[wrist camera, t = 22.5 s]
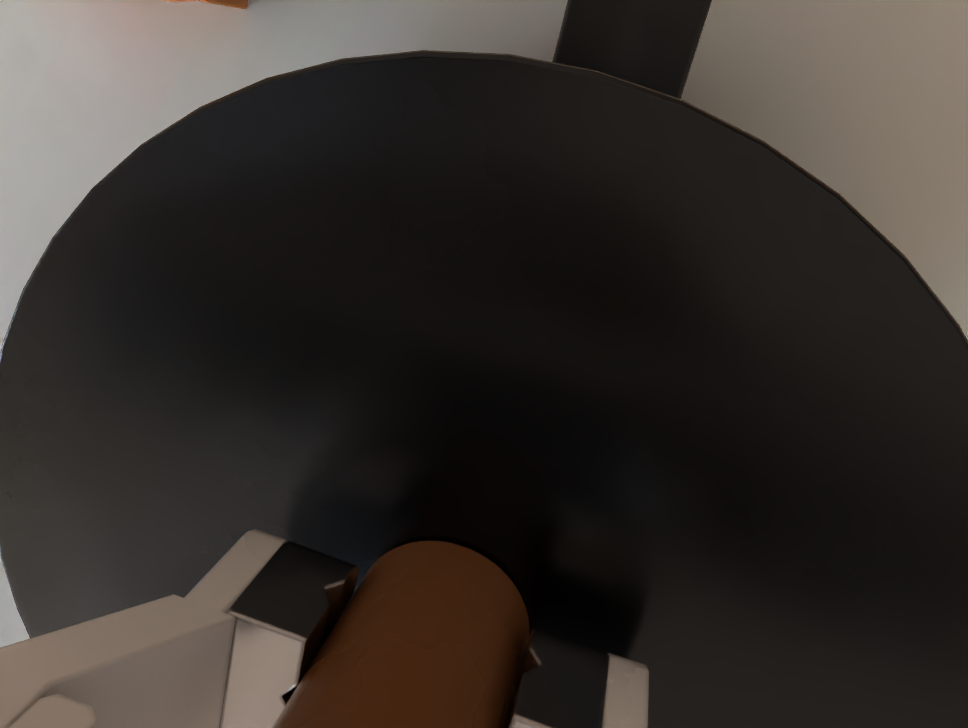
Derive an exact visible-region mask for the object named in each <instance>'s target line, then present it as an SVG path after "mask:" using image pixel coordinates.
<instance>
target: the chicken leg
mask: <svg viewBox="0 0 968 728" xmlns="http://www.w3.org/2000/svg"><path fill="white" fill-rule="evenodd" d="M164 1H170V2H184V1H195V0H164ZM199 1H202V2H206V3H211V4H217V5H223V6H229V7H235V8H241V9H247V7H248V0H199Z"/></svg>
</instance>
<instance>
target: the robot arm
mask: <svg viewBox="0 0 968 728" xmlns="http://www.w3.org/2000/svg"><path fill="white" fill-rule="evenodd" d="M358 572H359V571H358V567H357V566H356V565H353V564H351V563H348V562H345V561H343V560H340V559H337V558H335V557H332V556H329V555H327V554H324V553H321V552H319V551H316V550H313V549H311V548H308V547H305V546H303V545H300V544H297V543H295V542H292V541H287V540H286V539H283V538H280V537H277V536H275V535H272V534H269V533H266V532H264V531H261V530H258V529H256V528H255V529H253V530H250V531H248V532H246V533H245V534H244V535H243V536H242V537H241V538H240V539H239V540H238V541H237V542H236V543H235V545H234V546H233V547H232V548H231V549H230V550H229V551H228V552H227V553H226V554H225V555H224V556H223V557H222V558H221V559H220V560H219V561H218V563H217V564H216V565H215V566H214V567H213V568H212V569H211V570H210V571H209V572H208V573H207V574H206V575H205V576H204V577H203V578H202V579H201V580H200V582H199V583H198V584H197V585H196V586H195V587H194V588H193V589H192V590H191V591H190V592H189V593H188V594H187V595H186V596H185V597H184V598H182V597H180V596H177V595H174V594H173V595H170V596H167V597H164V598H160V599H157V600H154V601H151V602H147V603H144V604H141V605H138V606H134V607H131V608H128V609H125V610H121V611H118V612H115V613H112V614H108V615H105V616H102V617H99V618H95V619H92V620H89V621H86V622H83V623H79V624H76V625H73V626H70V627H66V628H63V629H60V630H57V631H53V632H50V633H47V634H44V635H40V636H37V637H34V638H31V639H27V640H24V641H21V642H18V643H14V644H11V645H8V646H5V647H2V648H0V728H272V727H273V725H274V724H275V722H276V720H277V719H278V717H279V715H280V714H281V712H282V711H283V709H284V707H285V706H286V704H287V702H288V701H289V699H290V697H291V696H292V694H293V693H294V691H295V689H296V688H297V686H298V684H299V683H300V681H301V680H302V678H303V676H304V675H305V673H306V671H307V670H308V668H309V666H310V665H311V663H312V662H313V660H314V658H315V657H316V655H317V653H318V652H319V650H320V649H321V647H322V645H323V644H324V642H325V640H326V639H327V637H328V635H329V634H330V632H331V631H332V629H333V627H334V626H335V624H336V622H337V621H338V619H339V618H340V616H341V614H342V613H343V611H344V609H345V607H346V606H347V604H348V602H349V601H350V599H351V597H352V596H353V594H354V592H355V588H356V583H357V578H358ZM515 690H516V692H515V696H514V700H513V704H512V707H511V709H510V712H509V715H508V719H507V723H506V727H505V728H648V691H649V670H648V668H647V666H646V665H645V664H642V663H639V662H636V661H633V660H629V659H626V658H623V657H620V656H617V655H614V654H611V653H608V654H606V653H604V652H601V651H598V650H595V649H592V648H590V647H587V646H584V645H581V644H578V643H575V642H572V641H569V640H566V639H563V638H561V637H558V636H555V635H552V634H549V633H546V632H543V631H540V630H537V629H534V628H533V630H532V632H531V635H530V638H529V641H528V643H527V646H526V649H525V652H524V656H523V660H522V664H521V667H520V671H519V675H518V679H517V683H516V687H515Z"/></svg>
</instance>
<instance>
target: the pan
mask: <svg viewBox="0 0 968 728" xmlns="http://www.w3.org/2000/svg"><path fill="white" fill-rule="evenodd" d="M711 2H712V0H568V3H567V6H566V10H565V14H564V18H563V22H562V26H561V30H560V34H559V38H558V42H557V46H556V50H555V54H554V58H553V63H558V64H564V65H569V66H574V67H579V68H585V69H590V70H595V71H600V72H603V73H606V74H609V75H612V76H615V77H618V78H620V79H623V80H626V81H629V82H632V83H635V84H638V85H641V86H644V87H647V88H650V89H653V90H656V91H659V92H661V93H664V94H667V95H670V96H673V97H676V98H679V99H681V96H682V93H683V89H684V86H685V83H686V80H687V77H688V74H689V71H690V67H691V64H692V61H693V58H694V55H695V52H696V49H697V45H698V42H699V39H700V36H701V33H702V30H703V27H704V23H705V20H706V17H707V14H708V11H709V8H710V5H711Z"/></svg>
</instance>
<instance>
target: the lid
mask: <svg viewBox="0 0 968 728" xmlns="http://www.w3.org/2000/svg"><path fill="white" fill-rule="evenodd" d="M255 528H256V529H258V530H261V531H264V532H266V533H269V534H272V535H275V536H277V537H280V538H283V539H286V540H287V541H292V542H295V543H297V544H300V545H303V546H305V547H308V548H311V549H313V550H316V551H319V552H321V553H324V554H327V555H329V556H332V557H335V558H337V559H340V560H343V561H345V562H348V563H351V564H353V565H356V566H357V567H358V571H359V572H358V578H357V583H356V588H355V592H354V594H353V596H352V597H351V599H350V601H349V602H348V604H347V606H346V607H345V609H344V611H343V613H342V614H341V616H340V618H339V619H338V621H337V622H336V624H335V626H334V627H333V629H332V631H331V632H330V634H329V635H328V637H327V639H326V640H325V642H324V644H323V645H322V647H321V649H320V650H319V652H318V653H317V655H316V657H315V658H314V660H313V662H312V663H311V665H310V666H309V668H308V670H307V671H306V673H305V675H304V676H303V678H302V680H301V681H300V683H299V684H298V686H297V688H296V689H295V691H294V693H293V694H292V696H291V697H290V699H289V701H288V702H287V704H286V706H285V707H284V709H283V711H282V712H281V714H280V715H279V717H278V719H277V720H276V722H275V724H274V725H273V727H272V728H505V727H506V723H507V719H508V715H509V712H510V709H511V707H512V704H513V700H514V696H515V692H516V690H515V687H516V683H517V679H518V675H519V671H520V667H521V664H522V660H523V656H524V652H525V649H526V646H527V643H528V641H529V638H530V635H531V632H532V630H533V628H534V629H537V630H540V631H543V632H546V633H549V634H552V635H555V636H558V637H561V638H563V639H566V640H569V641H572V642H575V643H578V644H581V645H584V646H587V647H590V648H592V649H595V650H598V651H601V652H604V653H606V654H608V653H611V654H614V655H617V656H620V657H623V658H626V659H629V660H633V661H636V662H639V663H642V664H645V665H646V666H647V668H648V670H649V691H648V728H968V340H967V338H966V336H965V334H964V333H963V331H962V329H961V327H960V326H959V324H958V323H957V321H956V320H955V319H954V318H953V316H952V315H951V314H950V313H949V311H948V310H947V309H946V307H945V306H944V305H943V304H942V302H941V301H940V300H939V298H938V297H937V296H936V295H935V293H934V292H933V291H932V290H931V288H930V287H929V286H928V284H927V283H926V282H925V281H924V279H923V278H922V277H921V276H920V274H919V273H918V272H917V270H916V269H915V268H914V267H913V265H912V264H911V263H910V261H909V260H908V259H907V258H906V256H905V255H904V254H903V253H901V252H900V251H899V250H898V249H897V248H896V247H895V246H894V245H893V244H892V243H891V242H890V241H889V240H888V239H887V238H886V237H885V236H883V235H882V234H881V233H880V232H879V231H878V230H877V229H876V228H875V227H874V226H873V225H872V224H871V223H870V222H869V221H868V220H866V219H865V218H864V217H863V216H862V215H861V214H860V213H859V212H858V211H857V210H856V209H855V208H854V207H853V206H852V205H851V204H850V203H848V202H847V201H846V200H845V199H844V198H843V197H842V196H841V195H840V194H839V193H837V192H836V191H834V190H833V189H831V188H830V187H829V186H827V185H826V184H824V183H823V182H821V181H820V180H819V179H817V178H816V177H814V176H813V175H811V174H810V173H809V172H807V171H806V170H804V169H803V168H802V167H800V166H799V165H797V164H796V163H794V162H793V161H792V160H790V159H789V158H787V157H786V156H784V155H783V154H782V153H780V152H779V151H777V150H776V149H774V148H773V147H772V146H770V145H769V144H767V143H766V142H764V141H763V140H761V139H759V138H757V137H755V136H753V135H751V134H749V133H747V132H745V131H743V130H741V129H739V128H737V127H735V126H733V125H731V124H729V123H727V122H725V121H723V120H721V119H719V118H717V117H715V116H714V115H712V114H710V113H708V112H706V111H704V110H702V109H700V108H698V107H696V106H694V105H692V104H690V103H688V102H686V101H684V100H682V99H679V98H676V97H673V96H670V95H667V94H664V93H661V92H659V91H656V90H653V89H650V88H647V87H644V86H641V85H638V84H635V83H632V82H629V81H626V80H623V79H620V78H618V77H615V76H612V75H609V74H606V73H603V72H600V71H595V70H590V69H585V68H579V67H574V66H569V65H564V64H558V63H553V62H548V61H543V60H537V59H532V58H527V57H521V56H516V55H511V54H495V53H472V52H450V51H427V50H422V51H412V52H402V53H392V54H383V55H373V56H363V57H353V58H344V59H339V60H335V61H331V62H327V63H323V64H319V65H316V66H312V67H308V68H304V69H300V70H296V71H292V72H288V73H285V74H281V75H277V76H273V77H269V78H266V79H264V80H261V81H259V82H257V83H254V84H252V85H250V86H247V87H245V88H243V89H240V90H238V91H236V92H233V93H231V94H229V95H227V96H224V97H222V98H220V99H217V100H215V101H213V102H210V103H208V104H206V105H203V106H201V107H199V108H198V109H196V110H194V111H193V112H191V113H190V114H188V115H187V116H185V117H183V118H182V119H180V120H179V121H177V122H176V123H174V124H172V125H171V126H169V127H168V128H166V129H165V130H163V131H161V132H160V133H158V134H157V135H155V136H154V137H152V138H150V139H149V140H147V141H146V142H144V143H143V144H141V145H140V146H139V147H138V148H137V149H136V150H134V151H133V152H132V153H131V154H130V155H129V156H128V157H127V158H126V159H124V160H123V161H122V162H121V163H120V164H119V165H118V166H117V167H115V168H114V169H113V170H112V171H111V172H110V173H109V174H108V175H106V176H105V177H104V178H103V179H102V180H101V181H100V182H99V183H98V184H96V185H95V186H94V187H93V188H92V189H91V191H90V192H89V193H88V194H87V196H86V197H85V198H84V199H83V200H82V202H81V203H80V204H79V205H78V207H77V208H76V209H75V210H74V212H73V213H72V214H71V215H70V217H69V218H68V219H67V220H66V222H65V223H64V224H63V225H62V226H61V228H60V229H59V230H58V231H57V233H56V234H55V235H54V236H53V238H52V239H51V241H50V243H49V245H48V246H47V248H46V250H45V252H44V253H43V255H42V257H41V259H40V260H39V262H38V264H37V266H36V267H35V269H34V271H33V273H32V274H31V276H30V278H29V280H28V281H27V283H26V285H25V287H24V288H23V291H22V294H21V296H20V299H19V301H18V304H17V307H16V309H15V312H14V315H13V317H12V320H11V323H10V325H9V328H8V331H7V333H6V336H5V338H4V341H3V345H2V349H1V354H0V555H1V559H2V562H3V565H4V569H5V572H6V575H7V578H8V581H9V584H10V587H11V591H12V594H13V597H14V600H15V603H16V606H17V609H18V611H19V614H20V616H21V618H22V620H23V623H24V625H25V627H26V630H27V632H28V634H29V636H30V639H31V638H34V637H37V636H40V635H44V634H47V633H50V632H53V631H57V630H60V629H63V628H66V627H70V626H73V625H76V624H79V623H83V622H86V621H89V620H92V619H95V618H99V617H102V616H105V615H108V614H112V613H115V612H118V611H121V610H125V609H128V608H131V607H134V606H138V605H141V604H144V603H147V602H151V601H154V600H157V599H160V598H164V597H167V596H170V595H173V594H174V595H177V596H180V597H182V598H184V597H185V596H186V595H187V594H188V593H189V592H190V591H191V590H192V589H193V588H194V587H195V586H196V585H197V584H198V583H199V582H200V580H201V579H202V578H203V577H204V576H205V575H206V574H207V573H208V572H209V571H210V570H211V569H212V568H213V567H214V566H215V565H216V564H217V563H218V561H219V560H220V559H221V558H222V557H223V556H224V555H225V554H226V553H227V552H228V551H229V550H230V549H231V548H232V547H233V546H234V545H235V543H236V542H237V541H238V540H239V539H240V538H241V537H242V536H243V535H244V534H245V533H246V532H248V531H250V530H253V529H255Z"/></svg>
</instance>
